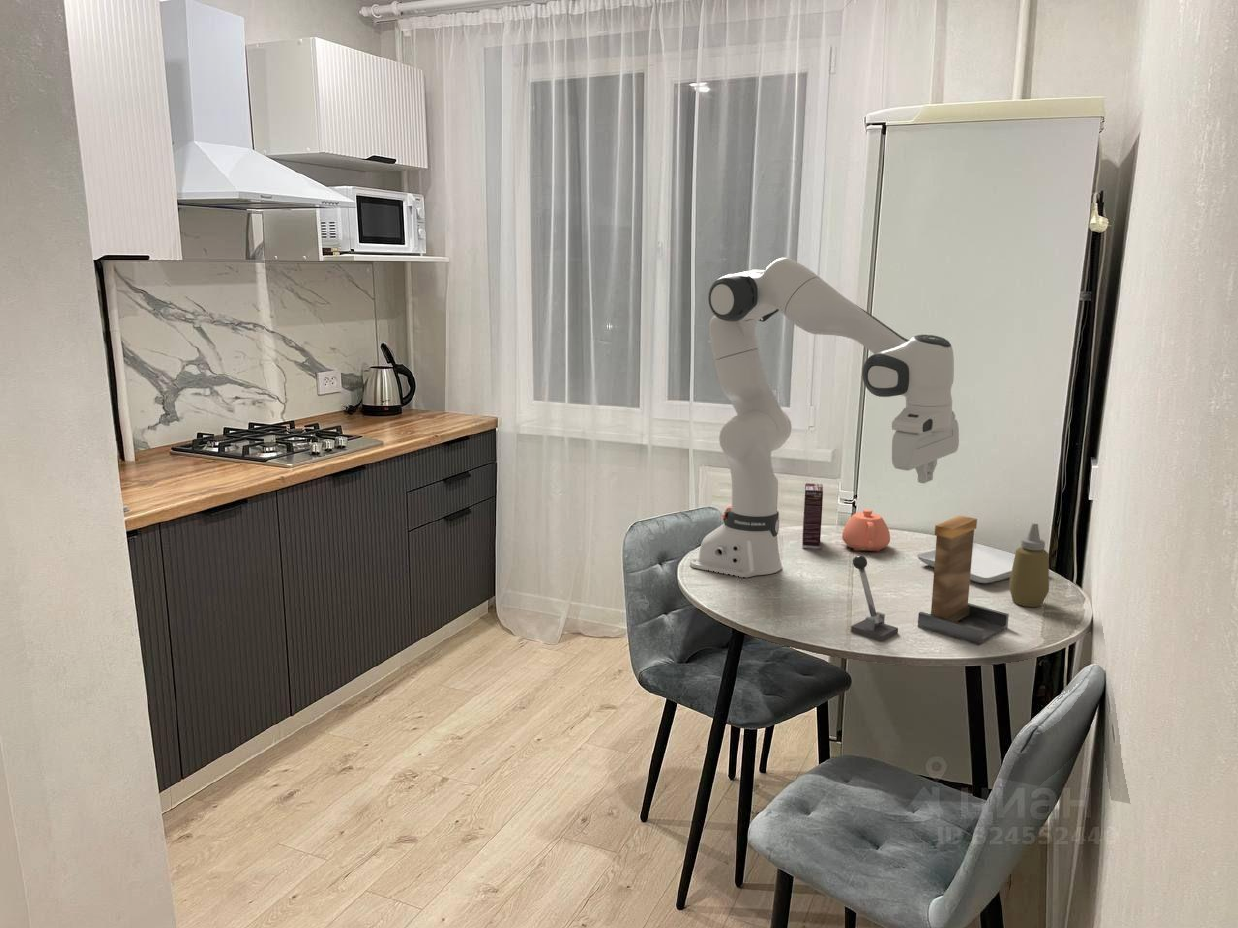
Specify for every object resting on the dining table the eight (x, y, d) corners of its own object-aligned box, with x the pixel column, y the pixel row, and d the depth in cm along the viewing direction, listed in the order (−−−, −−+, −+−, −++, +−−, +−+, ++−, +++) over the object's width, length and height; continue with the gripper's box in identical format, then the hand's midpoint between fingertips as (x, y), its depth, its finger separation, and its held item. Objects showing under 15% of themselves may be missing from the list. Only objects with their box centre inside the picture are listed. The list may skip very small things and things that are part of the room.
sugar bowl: (885, 541, 240) (887, 505, 238) (894, 557, 227) (897, 518, 225) (839, 540, 242) (840, 503, 240) (845, 555, 228) (847, 517, 226)
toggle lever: (866, 627, 178) (848, 557, 179) (873, 623, 180) (856, 554, 181) (878, 626, 176) (860, 556, 177) (885, 623, 178) (867, 553, 179)
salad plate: (913, 566, 221) (914, 552, 220) (970, 552, 231) (971, 540, 230) (985, 591, 203) (986, 577, 202) (1044, 576, 213) (1045, 562, 212)
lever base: (850, 631, 179) (851, 614, 178) (866, 623, 183) (867, 607, 182) (881, 641, 174) (883, 624, 173) (897, 633, 178) (898, 616, 178)
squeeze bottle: (1002, 604, 194) (1009, 524, 190) (1013, 594, 200) (1020, 517, 196) (1041, 612, 189) (1049, 531, 185) (1052, 602, 195) (1060, 523, 191)
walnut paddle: (927, 622, 181) (934, 525, 177) (951, 609, 188) (959, 515, 184) (945, 627, 178) (953, 529, 174) (970, 614, 185) (978, 519, 181)
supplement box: (820, 549, 233) (823, 491, 230) (802, 548, 234) (804, 490, 231) (820, 540, 241) (822, 483, 238) (802, 539, 242) (804, 482, 239)
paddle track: (917, 626, 182) (918, 612, 181) (946, 610, 190) (948, 597, 190) (979, 645, 172) (980, 630, 172) (1007, 627, 181) (1008, 613, 180)
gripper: (940, 405, 188) (937, 468, 192) (886, 423, 176) (884, 489, 179) (968, 409, 184) (964, 473, 188) (915, 427, 171) (912, 495, 175)
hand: (925, 481), depth 183 cm, fingers closed
